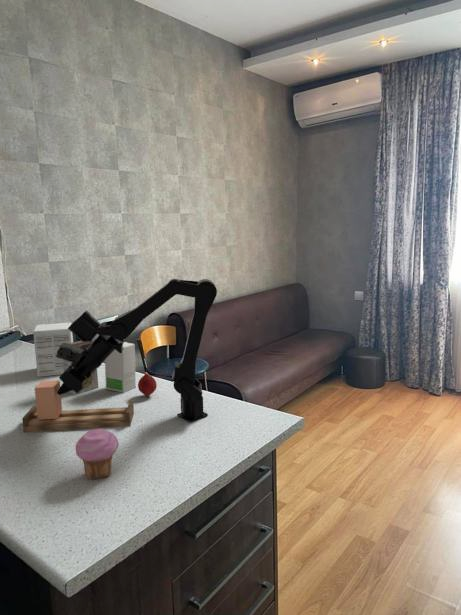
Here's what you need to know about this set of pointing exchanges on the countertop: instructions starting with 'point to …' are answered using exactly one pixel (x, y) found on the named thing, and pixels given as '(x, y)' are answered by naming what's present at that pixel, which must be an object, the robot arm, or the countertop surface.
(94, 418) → the wooden slide track
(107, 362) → the skincare box
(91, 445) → the cupcake
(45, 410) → the block
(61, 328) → the supplement box
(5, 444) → the countertop surface
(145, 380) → the onion
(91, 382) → the coffee box
